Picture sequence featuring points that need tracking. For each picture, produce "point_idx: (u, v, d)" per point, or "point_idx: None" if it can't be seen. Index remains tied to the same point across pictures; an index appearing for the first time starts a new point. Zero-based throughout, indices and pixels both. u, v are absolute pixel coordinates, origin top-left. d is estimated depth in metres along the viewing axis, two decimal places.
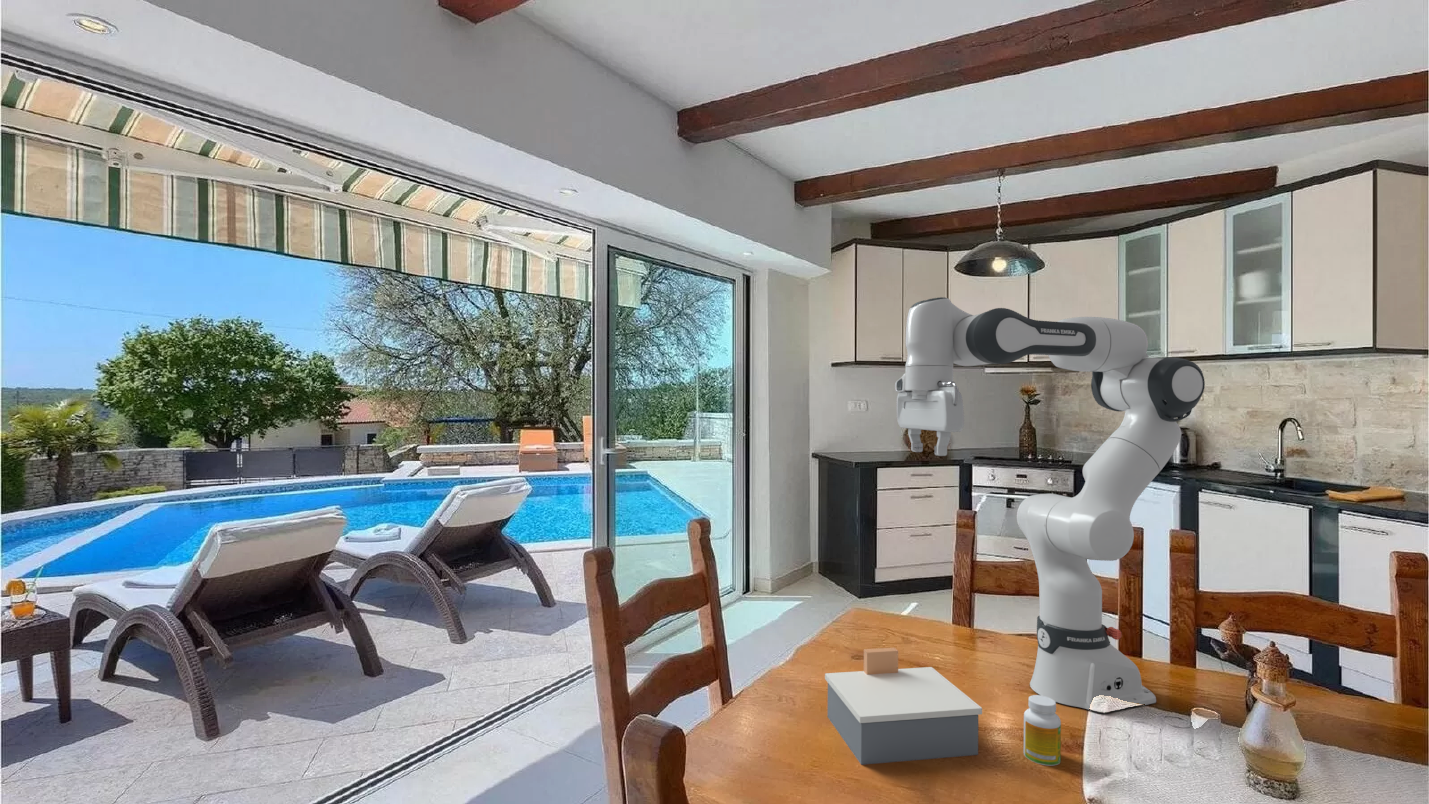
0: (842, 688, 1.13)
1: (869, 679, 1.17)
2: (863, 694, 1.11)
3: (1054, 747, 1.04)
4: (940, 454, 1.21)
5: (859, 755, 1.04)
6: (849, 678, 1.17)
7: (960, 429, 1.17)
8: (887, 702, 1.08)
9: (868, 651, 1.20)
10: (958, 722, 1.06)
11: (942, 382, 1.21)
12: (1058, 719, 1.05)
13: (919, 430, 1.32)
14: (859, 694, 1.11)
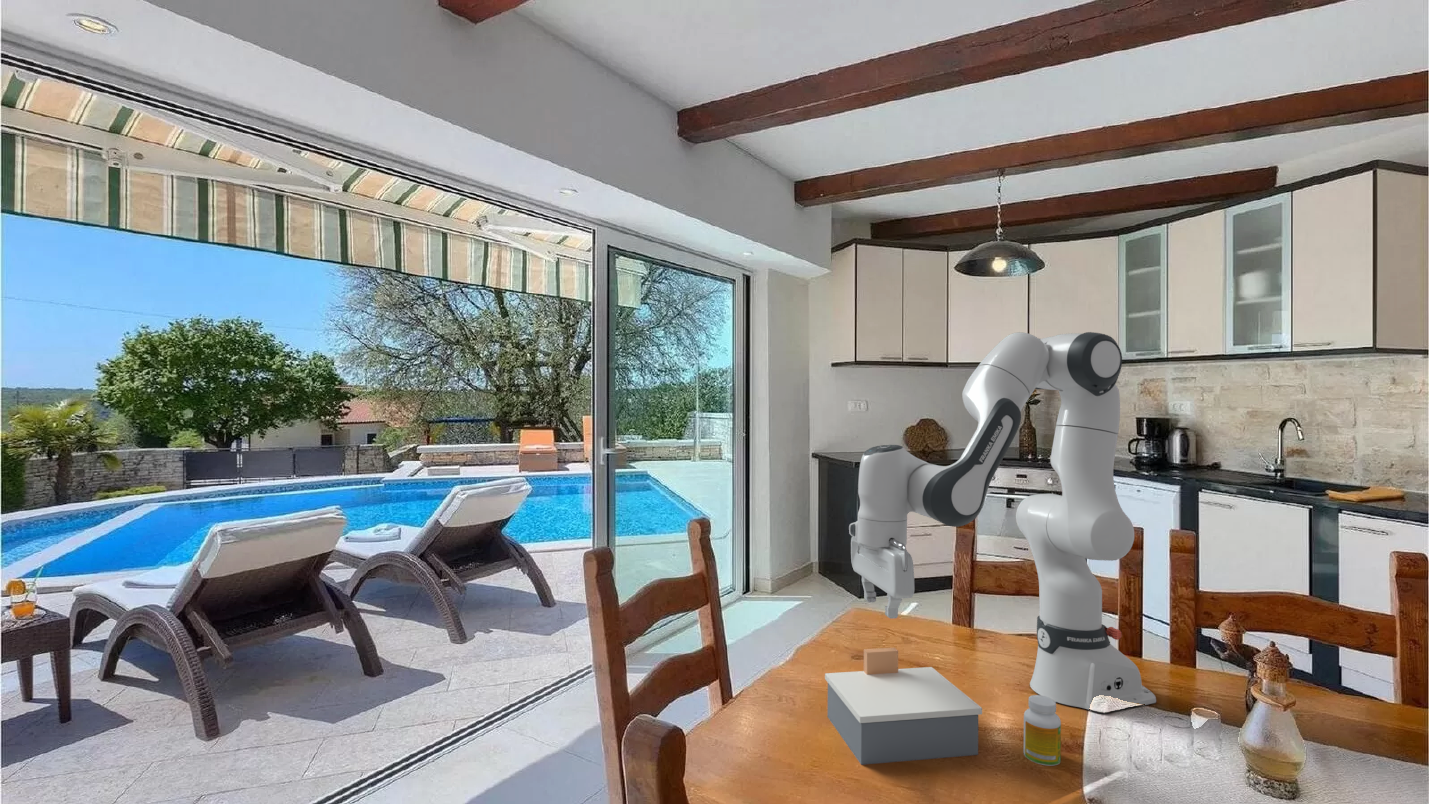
0: (842, 688, 1.13)
1: (869, 679, 1.17)
2: (863, 694, 1.11)
3: (1054, 747, 1.04)
4: (890, 617, 1.15)
5: (859, 755, 1.04)
6: (849, 678, 1.17)
7: (910, 596, 1.11)
8: (887, 702, 1.08)
9: (868, 651, 1.20)
10: (958, 722, 1.06)
11: (893, 541, 1.15)
12: (1058, 719, 1.05)
13: None
14: (859, 694, 1.11)
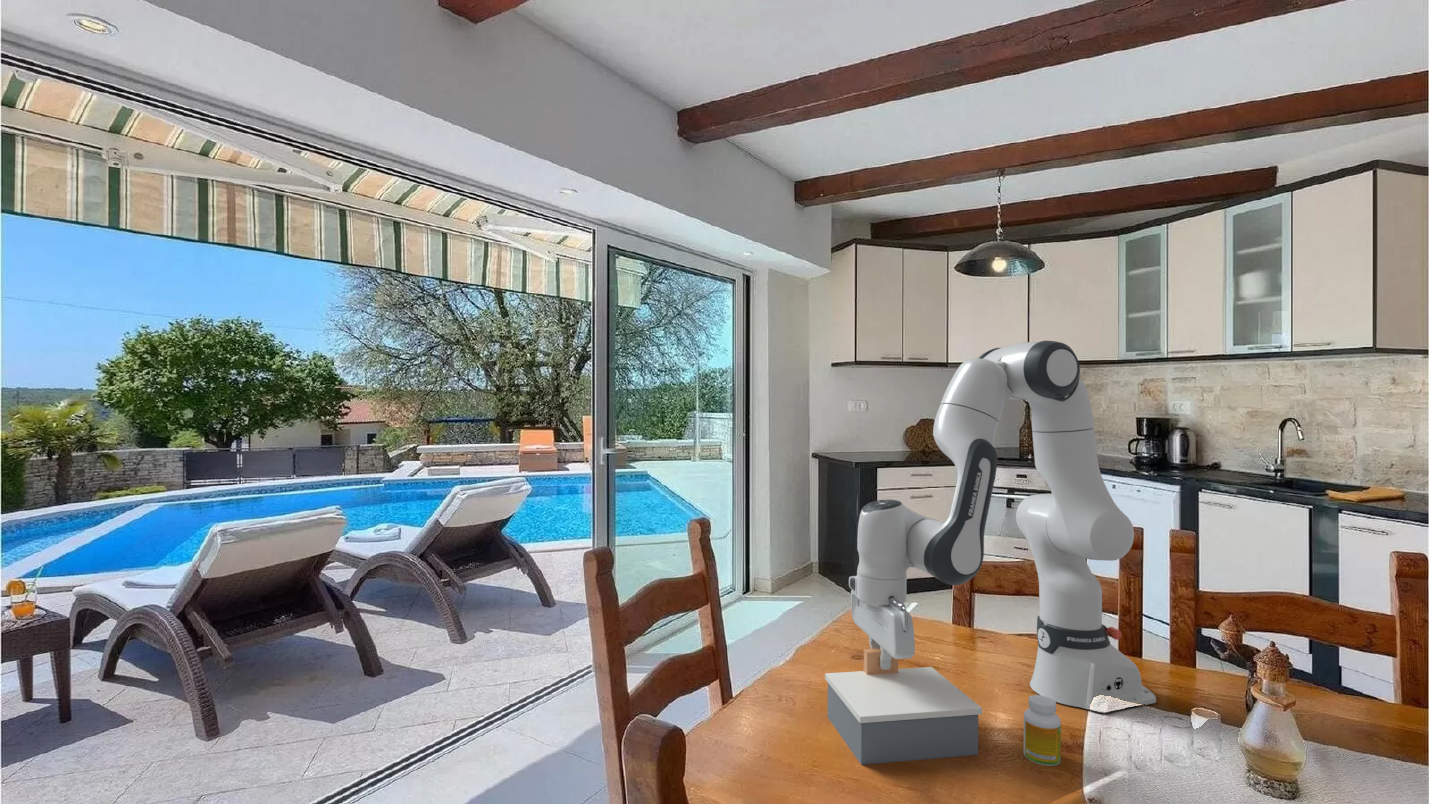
0: (842, 688, 1.13)
1: (869, 679, 1.17)
2: (863, 694, 1.11)
3: (1054, 747, 1.04)
4: (883, 668, 1.18)
5: (859, 755, 1.04)
6: (849, 678, 1.17)
7: (910, 657, 1.11)
8: (887, 702, 1.08)
9: (868, 651, 1.20)
10: (958, 722, 1.06)
11: (893, 600, 1.15)
12: (1058, 719, 1.05)
13: None
14: (859, 694, 1.11)
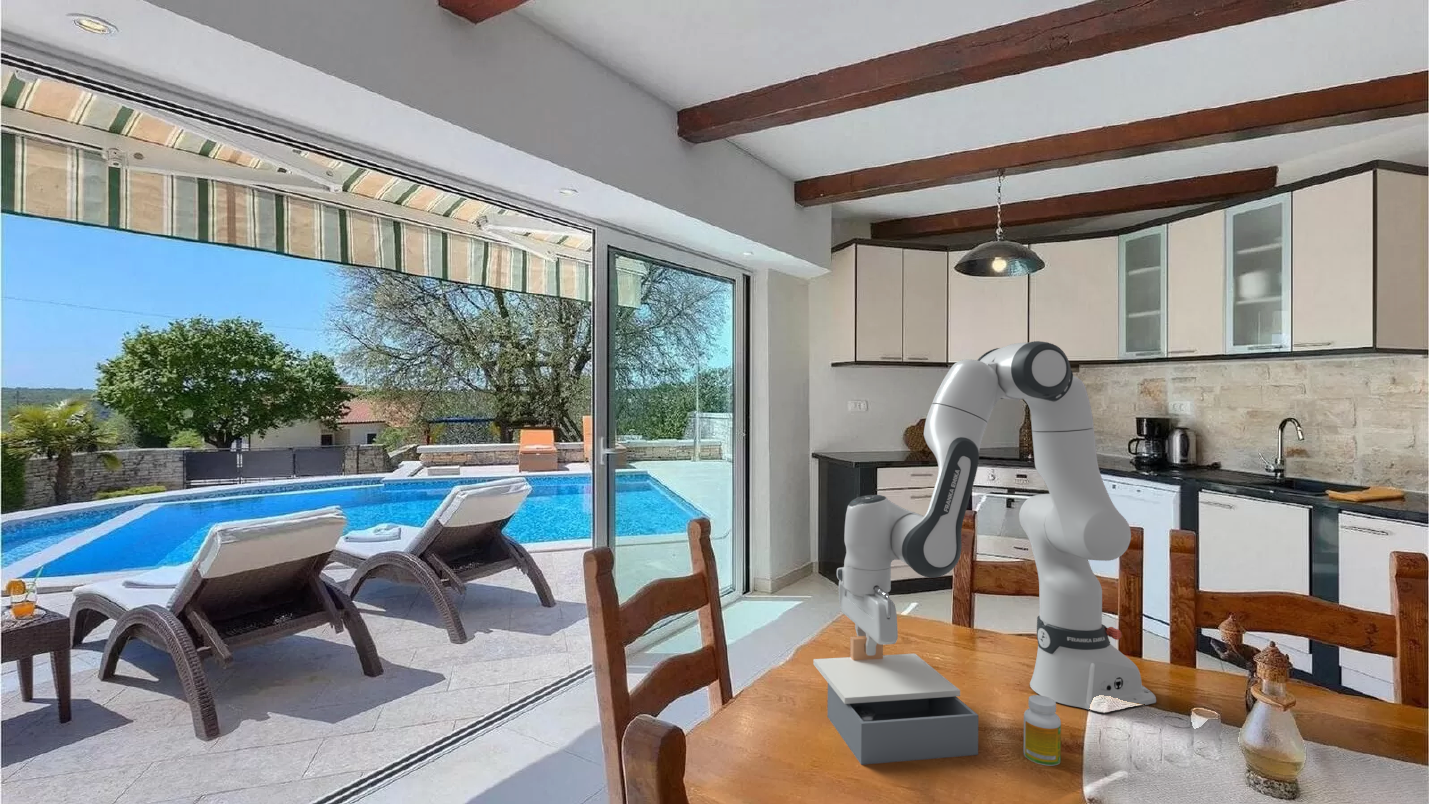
0: (829, 672, 1.20)
1: (855, 664, 1.24)
2: (849, 678, 1.18)
3: (1054, 747, 1.04)
4: (869, 654, 1.25)
5: (859, 755, 1.04)
6: (836, 663, 1.24)
7: (894, 642, 1.18)
8: (871, 685, 1.15)
9: (854, 638, 1.26)
10: (958, 722, 1.06)
11: (877, 589, 1.21)
12: (1058, 719, 1.05)
13: None
14: (845, 678, 1.18)
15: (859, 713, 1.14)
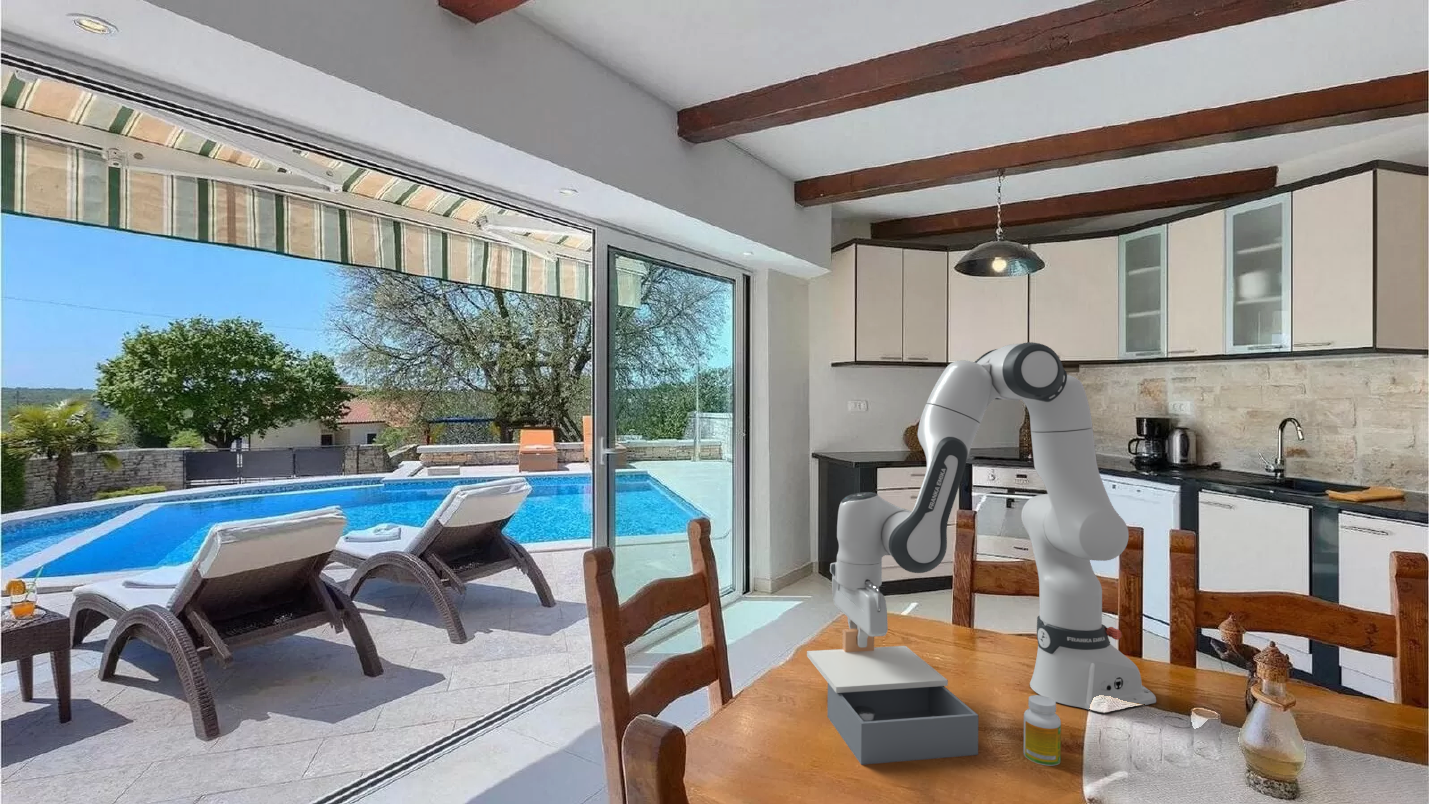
0: (822, 663, 1.24)
1: (847, 656, 1.28)
2: (841, 668, 1.22)
3: (1054, 747, 1.04)
4: (860, 646, 1.29)
5: (859, 755, 1.04)
6: (829, 655, 1.28)
7: (884, 634, 1.22)
8: (862, 675, 1.19)
9: (846, 631, 1.30)
10: (958, 722, 1.06)
11: (868, 583, 1.25)
12: (1058, 719, 1.05)
13: None
14: (837, 668, 1.22)
15: (859, 713, 1.14)
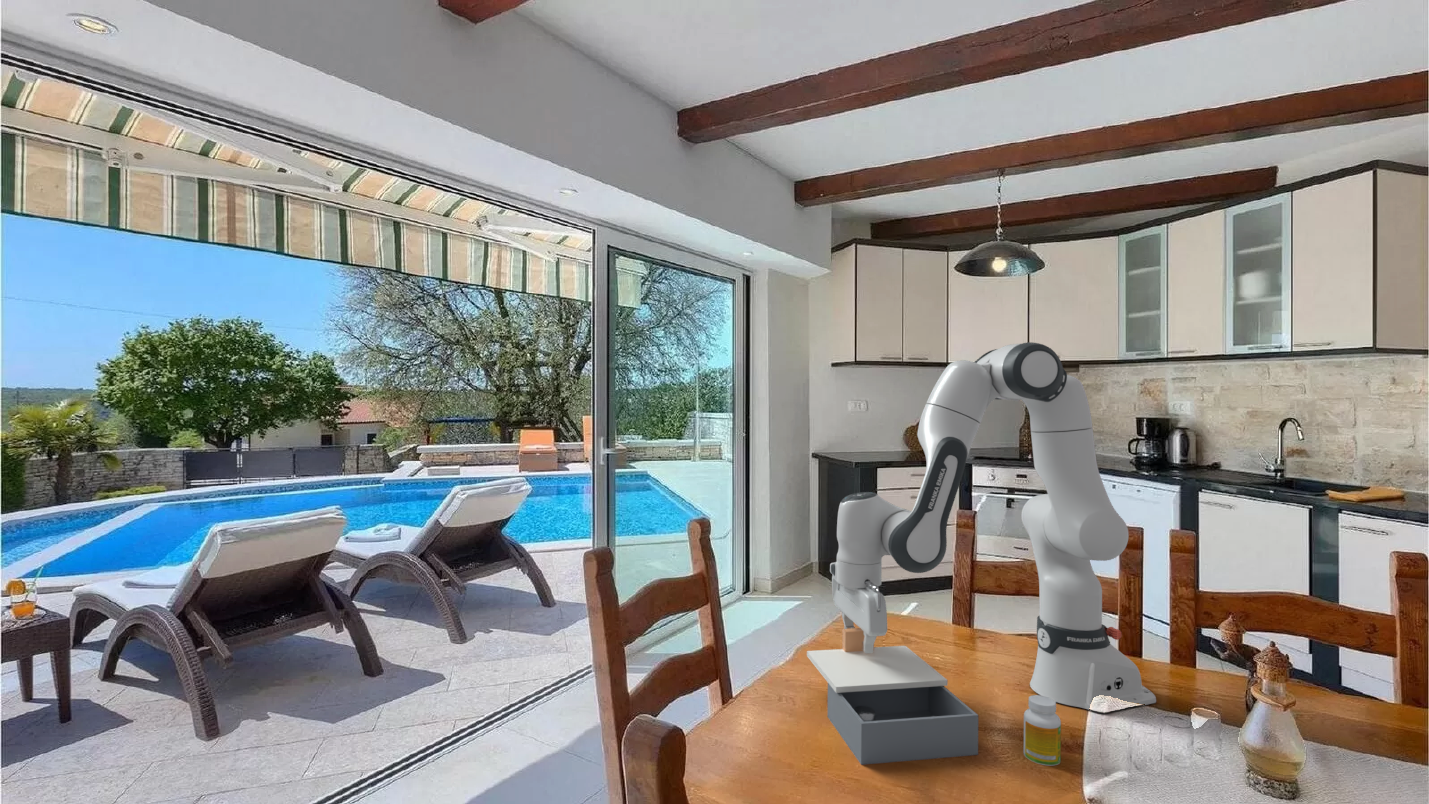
0: (821, 663, 1.24)
1: (847, 656, 1.28)
2: (840, 668, 1.22)
3: (1054, 747, 1.04)
4: (866, 652, 1.26)
5: (859, 755, 1.04)
6: (829, 655, 1.28)
7: (883, 634, 1.22)
8: (861, 675, 1.19)
9: (846, 630, 1.31)
10: (958, 722, 1.06)
11: (868, 583, 1.25)
12: (1058, 719, 1.05)
13: None
14: (837, 668, 1.22)
15: (859, 713, 1.14)
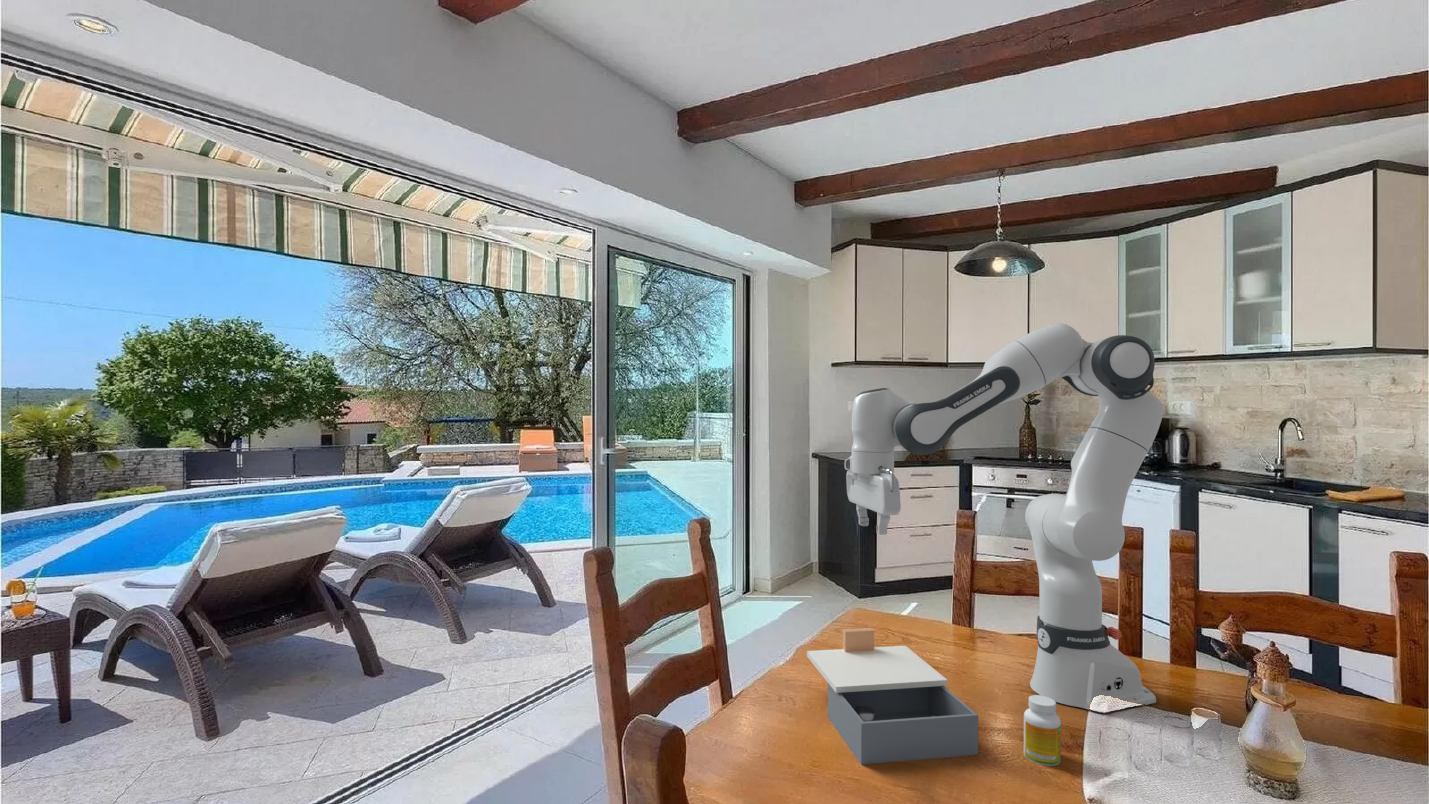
0: (821, 663, 1.24)
1: (847, 656, 1.28)
2: (840, 668, 1.22)
3: (1054, 747, 1.04)
4: (881, 533, 1.34)
5: (859, 755, 1.04)
6: (829, 655, 1.28)
7: (897, 513, 1.30)
8: (861, 675, 1.19)
9: (846, 630, 1.31)
10: (958, 722, 1.06)
11: (882, 468, 1.34)
12: (1058, 719, 1.05)
13: None
14: (837, 668, 1.22)
15: (859, 713, 1.14)
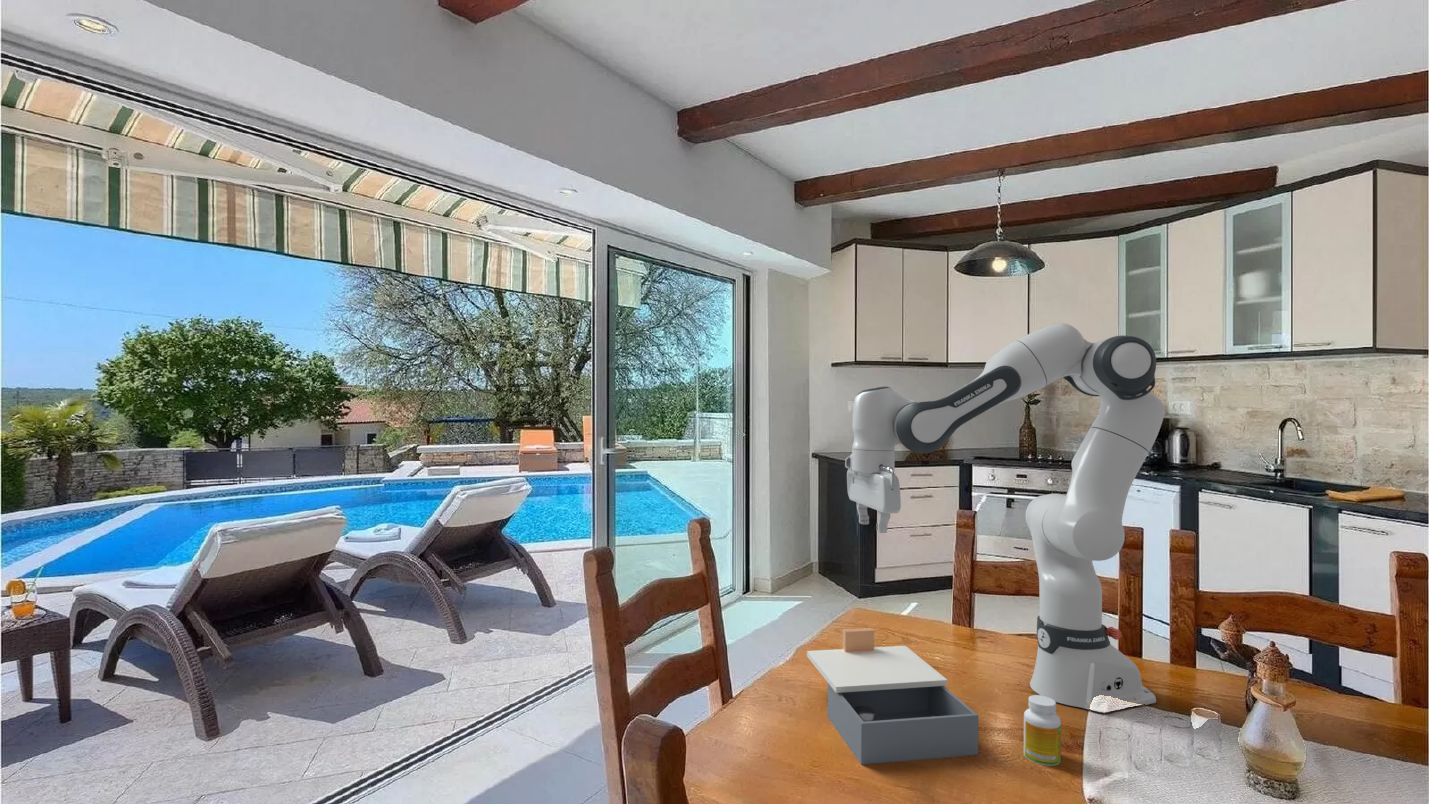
0: (821, 663, 1.24)
1: (847, 656, 1.28)
2: (840, 668, 1.22)
3: (1054, 747, 1.04)
4: (881, 531, 1.34)
5: (859, 755, 1.04)
6: (829, 655, 1.28)
7: (897, 511, 1.30)
8: (861, 675, 1.19)
9: (846, 630, 1.31)
10: (958, 722, 1.06)
11: (882, 466, 1.34)
12: (1058, 719, 1.05)
13: None
14: (837, 668, 1.22)
15: (859, 713, 1.14)
